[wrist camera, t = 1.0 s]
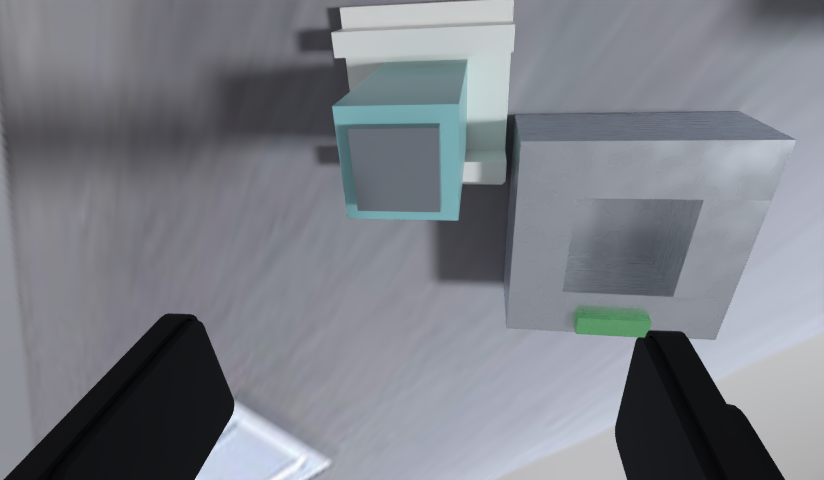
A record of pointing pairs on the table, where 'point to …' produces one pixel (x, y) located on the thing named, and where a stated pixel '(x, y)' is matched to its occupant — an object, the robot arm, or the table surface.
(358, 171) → the plug
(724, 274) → the port
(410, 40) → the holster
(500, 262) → the table surface
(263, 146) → the table surface
